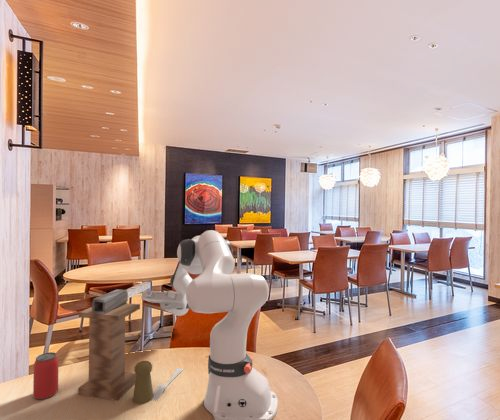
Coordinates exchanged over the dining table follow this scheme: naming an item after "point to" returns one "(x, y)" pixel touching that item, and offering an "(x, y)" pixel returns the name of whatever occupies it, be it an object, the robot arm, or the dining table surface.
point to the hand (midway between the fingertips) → (157, 292)
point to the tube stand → (108, 346)
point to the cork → (143, 383)
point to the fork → (166, 384)
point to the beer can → (45, 376)
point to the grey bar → (139, 288)
